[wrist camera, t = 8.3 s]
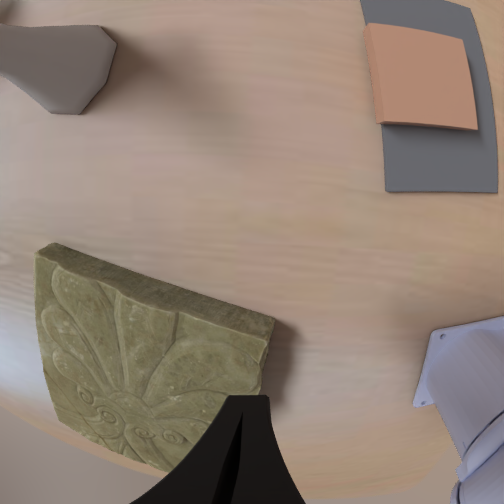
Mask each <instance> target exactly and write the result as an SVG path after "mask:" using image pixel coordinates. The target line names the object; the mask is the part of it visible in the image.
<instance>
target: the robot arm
mask: <svg viewBox="0 0 504 504" xmlns="http://www.w3.org/2000/svg"><path fill="white" fill-rule="evenodd" d="M442 334H443V335H442ZM441 335H442V336H441ZM440 336H441V337H440ZM430 404H435V405H436V407H437V409H438V411H439V413H440V415H441V417H442V419H443V421H444V423H445V425H446V427H447V429H448V432H449V434H450V436H451V438H452V440H453V442H454V445H455V447H456V449H457V451H458V453H459V456H460V458H461V460H462V463H461V464H460V465H459V466H458V467H457V468H456V469H455V470H456V473H457V475H458V478H459V481H458V482H457V483H456V484H455V486H454V487H453V490H452V492H451V498H450V504H504V316H501V317H496V318H492V319H488V320H483V321H478V322H474V323H469V324H464V325H459V326H453V327H448V328H442V329H437V330H434V331H433V332H432V333H431V336H430V340H429V344H428V349H427V353H426V357H425V361H424V365H423V369H422V373H421V376H420V380H419V383H418V387H417V390H416V393H415V397H414V400H413V406H414V407H415V408H417V407H422V406H426V405H430ZM130 504H306V503H305V502H304V500H303V498H302V497H301V495H300V493H299V491H298V489H297V488H296V486H295V484H294V482H293V480H292V478H291V476H290V474H289V472H288V469H287V467H286V465H285V462H284V460H283V458H282V455H281V452H280V450H279V447H278V444H277V441H276V438H275V434H274V431H273V427H272V423H271V414H270V401H269V397H268V396H266V395H229V396H228V397H227V398H226V399H225V401H224V403H223V405H222V407H221V408H220V410H219V412H218V413H217V415H216V417H215V418H214V420H213V421H212V423H211V424H210V426H209V427H208V428H207V430H206V431H205V433H204V434H203V435H202V437H201V438H200V439H199V441H198V442H197V443H196V444H195V446H194V447H193V448H192V449H191V450H190V451H189V453H188V454H187V455H186V456H185V457H184V458H183V460H182V461H181V462H180V463H179V464H178V465H177V466H176V467H175V468H174V469H173V470H172V471H171V472H170V473H169V474H168V475H167V476H165V477H164V478H163V479H162V480H161V481H160V482H159V483H157V484H156V485H155V486H154V487H152V488H151V489H150V490H149V491H147V492H146V493H145V494H143V495H142V496H141V497H139V498H138V499H136V500H134V501H133V502H131V503H130Z"/></svg>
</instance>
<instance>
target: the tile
mask: <svg viewBox="0 0 504 504" xmlns="http://www.w3.org/2000/svg"><path fill="white" fill-rule="evenodd" d="M363 35H364V40H365V45H366V50H367V56H368V62H369V68H370V74H371V81H372V88H373V96H374V104H375V113H376V123H377V124H396V125H414V126H427V127H438V128H448V129H457V130H465V131H468V130H478V126H477V116H476V108H475V100H474V93H473V87H472V81H471V76H470V71H469V66H468V61H467V56H466V52H465V48H464V44H463V40H462V39H458V38H455V37H451V36H447V35H442V34H438V33H433V32H429V31H424V30H418V29H413V28H407V27H400V26H393V25H386V24H377V23H368V24H367V26H366V27H365V29H364V30H363Z"/></svg>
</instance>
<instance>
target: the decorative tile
mask: <svg viewBox="0 0 504 504" xmlns="http://www.w3.org/2000/svg"><path fill="white" fill-rule="evenodd" d="M34 297H35V316H36V327H37V334H38V342H39V347H40V352H41V358H42V363H43V372H44V376H45V379H46V383H47V387H48V390H49V393H50V397H51V400H52V403H53V406H54V409H55V412H56V414H57V417H58V420H59V421H60V422H62V423H63V424H65V425H67V426H68V427H70V428H72V429H73V430H75V431H76V432H78V433H79V434H81V435H83V436H84V437H86V438H87V439H88V440H90V441H92V442H94V443H97V444H99V445H102V446H103V447H105V448H107V449H109V450H111V451H114V452H116V453H118V454H121V455H123V456H125V457H127V458H130V459H132V460H135V461H138V462H140V463H145V464H148V465H150V466H151V467H154V468H156V469H159V470H162V471H165V472H168V473H170V472H171V471H172V470H173V469H174V468H175V467H176V466H177V465H178V464H179V463H180V462H181V461H182V460H183V458H184V457H185V456H186V455H187V454H188V453H189V451H190V450H191V449H192V448H193V447H194V446H195V444H196V443H197V442H198V441H199V439H200V438H201V437H202V435H203V434H204V433H205V431H206V430H207V428H208V427H209V426H210V424H211V423H212V421H213V420H214V418H215V417H216V415H217V413H218V412H219V410H220V408H221V407H222V405H223V403H224V401H225V399H226V398H227V397H228V396H229V395H258V393H259V391H260V389H261V385H262V371H263V367H264V364H265V362H266V357H267V355H268V349H269V341H270V336H271V334H272V333H273V329H274V323H275V318H273V317H271V316H268V315H264V314H261V313H258V312H255V311H251V310H248V309H245V308H242V307H239V306H236V305H233V304H229V303H226V302H223V301H220V300H217V299H214V298H211V297H208V296H205V295H202V294H198V293H196V292H193V291H190V290H187V289H184V288H181V287H178V286H175V285H172V284H169V283H166V282H163V281H160V280H157V279H154V278H151V277H148V276H145V275H142V274H139V273H136V272H133V271H130V270H128V269H125V268H122V267H119V266H117V265H114V264H111V263H109V262H106V261H103V260H100V259H98V258H95V257H92V256H89V255H86V254H84V253H81V252H78V251H76V250H73V249H70V248H68V247H65V246H63V245H60V244H58V243H51V244H48V245H47V246H46V247H45V248H43V249H41V250H39V251H37V252H36V253H34Z"/></svg>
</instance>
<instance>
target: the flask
mask: <svg viewBox="0 0 504 504" xmlns="http://www.w3.org/2000/svg"><path fill="white" fill-rule="evenodd" d="M116 46H117V44H116V43H115V42H114V41H113V40H112V39H111V38H110V37H109V36H108V35H107V34H106V33H105V32H104V31H103V30H102V29H101V28H100V27H99V26H98V25H70V26H44V27H23V26H9V25H5V24H2V23H0V76H2V77H4V78H7V79H8V80H9V81H11V82H12V83H13V84H15V85H16V86H17V87H19V88H20V89H21V90H23V91H24V92H25V93H27V94H28V95H29V96H30V97H32V98H33V99H34V100H35V101H36V102H38V103H39V104H40V105H41V106H42V107H44V108H45V109H46V110H47V111H49V112H50V113H51V114H80V113H81V112H82V110H83V109H84V108H85V107H86V106H87V104H88V103H89V102H90V101H91V99H92V98H93V97H94V96H95V95H96V94H97V92H98V91H99V90H100V89H101V88H102V87H103V86H104V84H105V83H106V81H107V77H108V73H109V70H110V66H111V63H112V59H113V56H114V53H115V49H116Z"/></svg>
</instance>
